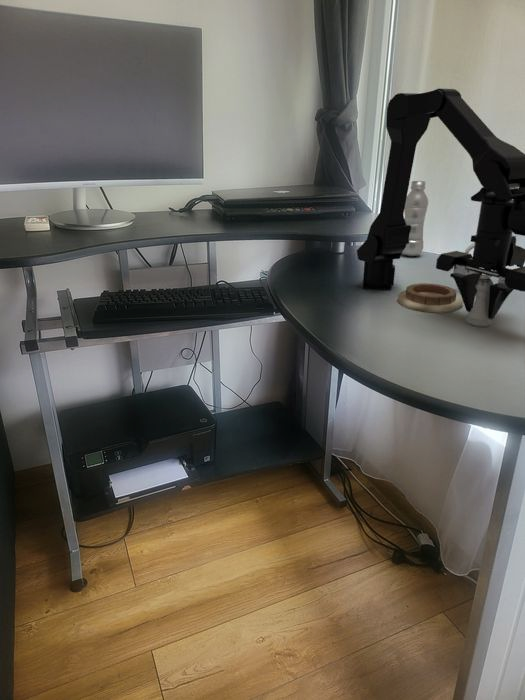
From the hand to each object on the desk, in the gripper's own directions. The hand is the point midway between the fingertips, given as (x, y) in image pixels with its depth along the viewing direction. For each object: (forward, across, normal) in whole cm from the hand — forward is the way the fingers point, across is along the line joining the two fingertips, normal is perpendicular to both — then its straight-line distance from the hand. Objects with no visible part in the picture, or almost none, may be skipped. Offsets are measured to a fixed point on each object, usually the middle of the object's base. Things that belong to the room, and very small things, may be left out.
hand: (479, 314), depth 95 cm
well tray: (+2, +13, -2) cm, 14 cm away
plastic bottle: (+2, +45, -30) cm, 54 cm away
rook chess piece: (+2, 0, 0) cm, 2 cm away
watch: (+2, +13, -17) cm, 21 cm away
